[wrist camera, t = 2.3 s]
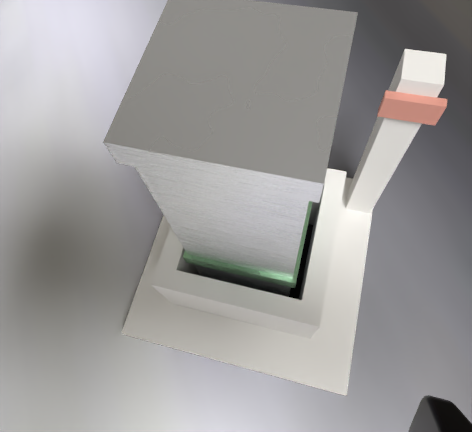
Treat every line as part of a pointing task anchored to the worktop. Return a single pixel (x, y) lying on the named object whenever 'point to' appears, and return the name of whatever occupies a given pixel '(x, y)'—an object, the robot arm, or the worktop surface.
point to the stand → (316, 270)
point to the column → (236, 130)
